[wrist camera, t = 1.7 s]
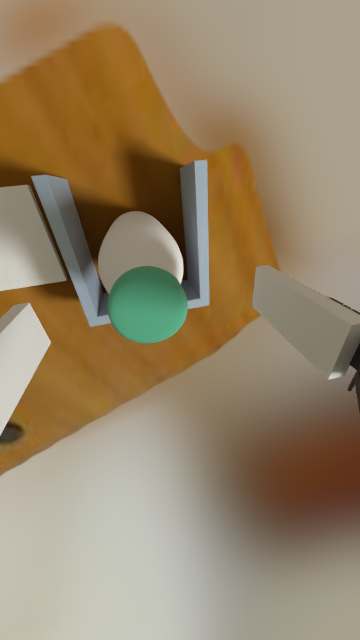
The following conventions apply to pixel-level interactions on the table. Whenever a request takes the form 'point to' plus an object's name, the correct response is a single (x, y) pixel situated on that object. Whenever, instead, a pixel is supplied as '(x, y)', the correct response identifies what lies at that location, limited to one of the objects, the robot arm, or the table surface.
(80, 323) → the table surface
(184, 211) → the grey u-shaped piece
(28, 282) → the tile
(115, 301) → the milk bottle
